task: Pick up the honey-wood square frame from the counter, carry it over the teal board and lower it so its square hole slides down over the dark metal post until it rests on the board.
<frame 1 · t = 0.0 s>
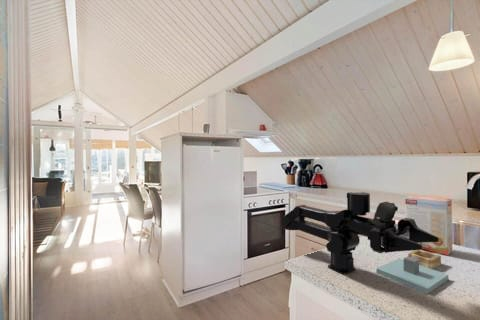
hand: (430, 243, 59), 17 cm above the worktop, tool horizontal, fingers open, 9 cm apart
square frame: (424, 262, 84), on the worktop
smoothie: (394, 244, 102), on the worktop
post board: (411, 276, 75), on the worktop
cracker box: (428, 249, 96), on the worktop
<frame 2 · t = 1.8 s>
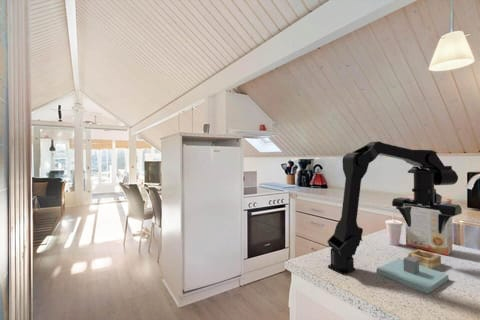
hand: (424, 229, 83), 12 cm above the worktop, tool pointing down, fingers open, 9 cm apart
nothing on the worktop moved.
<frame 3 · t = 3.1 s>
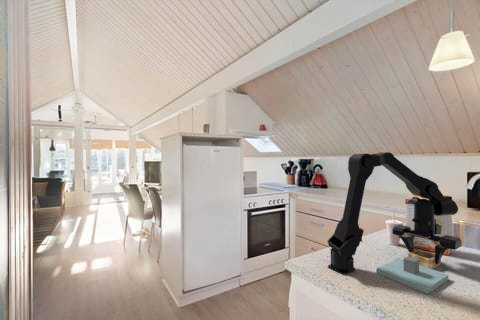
hand: (424, 260, 84), 1 cm above the worktop, tool pointing down, fingers closed on square frame, 7 cm apart
square frame: (424, 262, 84), on the worktop, touching gripper
everything else where it was.
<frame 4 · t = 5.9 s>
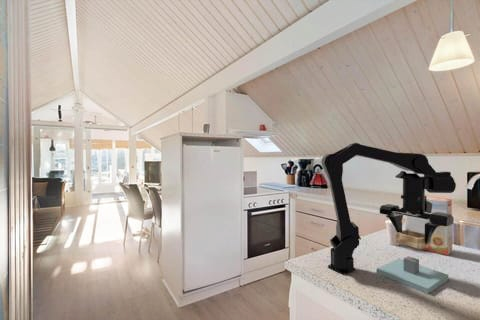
hand: (413, 240, 77), 11 cm above the worktop, tool pointing down, fingers closed on square frame, 7 cm apart
square frame: (413, 243, 77), point 10 cm above the worktop, touching gripper
everything else where it was.
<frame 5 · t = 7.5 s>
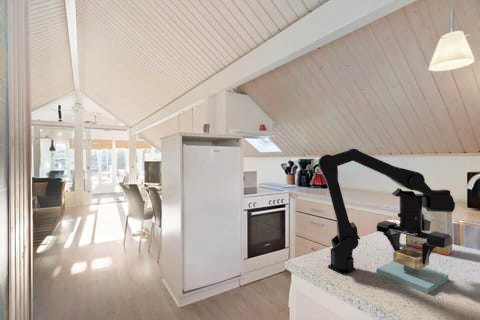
hand: (410, 259, 75), 5 cm above the worktop, tool pointing down, fingers closed on square frame, 7 cm apart
square frame: (411, 262, 75), point 4 cm above the worktop, touching gripper
everything else where it was.
when the fingers open (4 cm above the worktop, at t = 8.8 s): square frame drops 1 cm, resting on post board.
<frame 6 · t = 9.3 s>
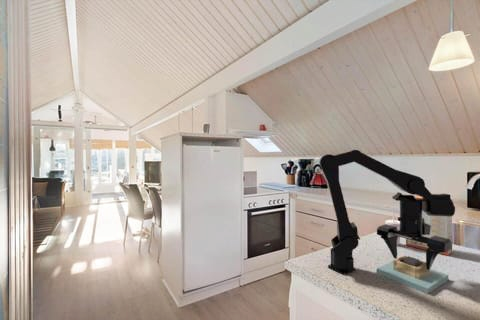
hand: (411, 263, 75), 4 cm above the worktop, tool pointing down, fingers open, 9 cm apart
square frame: (411, 271, 75), point 1 cm above the worktop, touching post board
everything else where it was.
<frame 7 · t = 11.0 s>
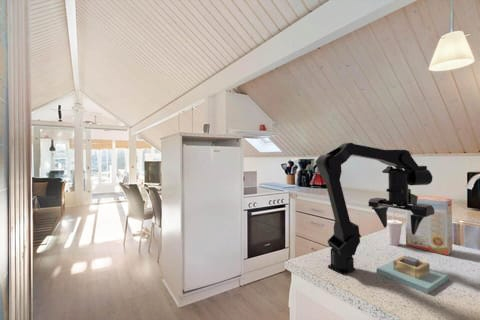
hand: (398, 230, 82), 12 cm above the worktop, tool pointing down, fingers open, 9 cm apart
nothing on the worktop moved.
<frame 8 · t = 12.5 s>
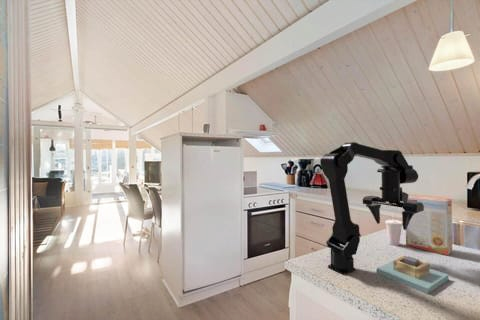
hand: (391, 226, 87), 12 cm above the worktop, tool pointing down, fingers open, 9 cm apart
nothing on the worktop moved.
at the end: square frame 0.0 cm off-centre on the post board, point 1.5 cm above the post board's base; square frame tilted 0°; the gripper is holding nothing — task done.
